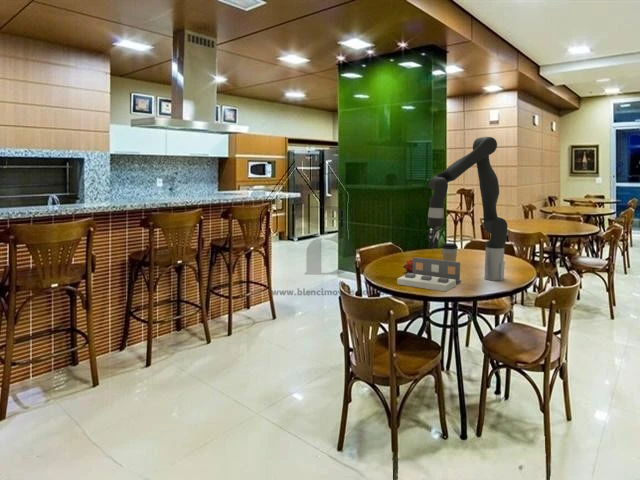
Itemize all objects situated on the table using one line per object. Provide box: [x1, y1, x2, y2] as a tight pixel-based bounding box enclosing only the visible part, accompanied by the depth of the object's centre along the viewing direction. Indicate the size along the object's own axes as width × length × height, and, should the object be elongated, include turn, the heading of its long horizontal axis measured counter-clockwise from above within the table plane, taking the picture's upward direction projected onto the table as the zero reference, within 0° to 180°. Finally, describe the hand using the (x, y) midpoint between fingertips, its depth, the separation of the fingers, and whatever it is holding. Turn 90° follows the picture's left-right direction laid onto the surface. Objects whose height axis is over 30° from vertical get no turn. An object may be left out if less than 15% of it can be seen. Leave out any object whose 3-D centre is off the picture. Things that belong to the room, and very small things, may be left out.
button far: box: [404, 272, 415, 278], centre depth 235 cm, size 4×4×3 cm
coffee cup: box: [440, 242, 459, 262], centre depth 262 cm, size 9×9×15 cm
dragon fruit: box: [402, 259, 413, 273], centre depth 257 cm, size 8×8×12 cm
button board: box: [396, 274, 457, 292], centre depth 230 cm, size 26×14×3 cm, turn 54°
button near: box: [438, 277, 449, 283], centre depth 224 cm, size 4×4×3 cm
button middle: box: [421, 275, 432, 281], centre depth 230 cm, size 4×4×3 cm
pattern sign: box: [412, 256, 462, 285], centre depth 239 cm, size 26×6×11 cm, turn 54°
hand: (433, 247), depth 230 cm, fingers open, 8 cm apart
